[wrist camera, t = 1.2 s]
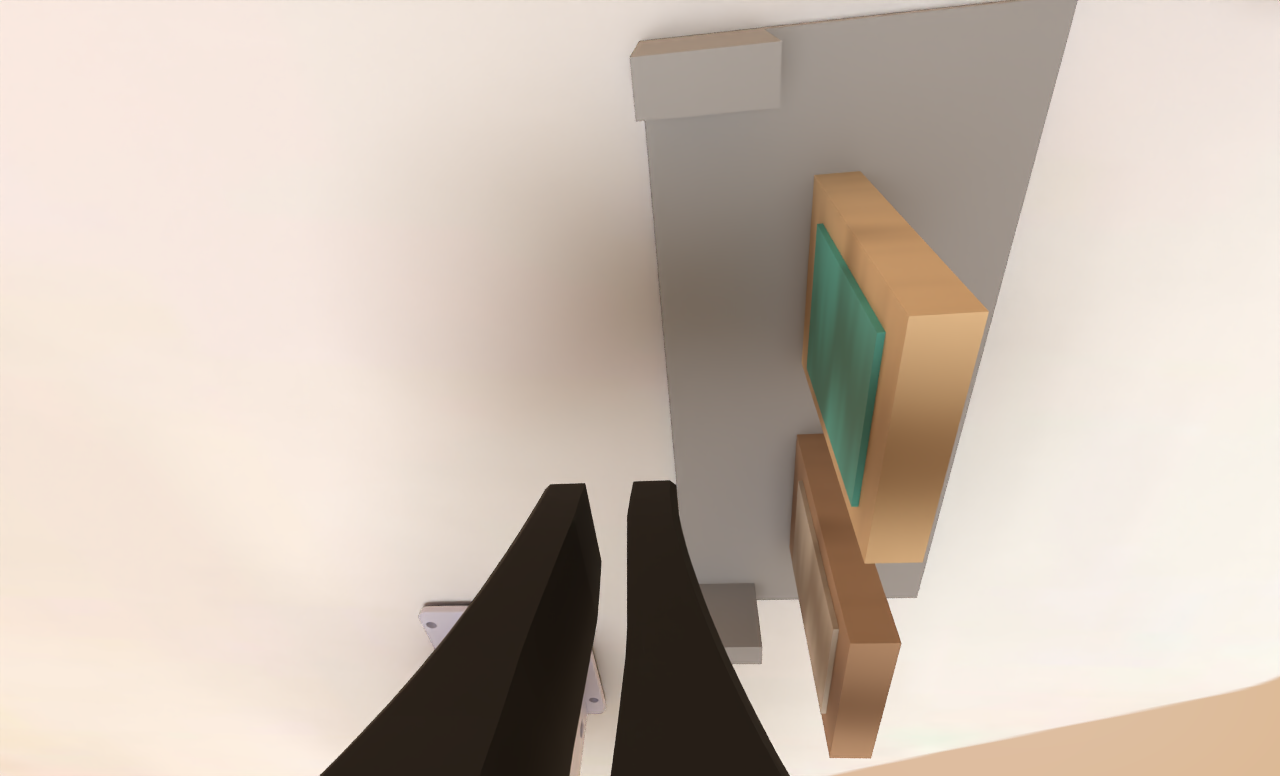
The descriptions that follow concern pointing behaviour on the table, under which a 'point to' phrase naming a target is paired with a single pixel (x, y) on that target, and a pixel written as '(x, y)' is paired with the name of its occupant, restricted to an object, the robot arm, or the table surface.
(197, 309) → the table surface
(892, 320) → the oak tile
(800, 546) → the walnut tile
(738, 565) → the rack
